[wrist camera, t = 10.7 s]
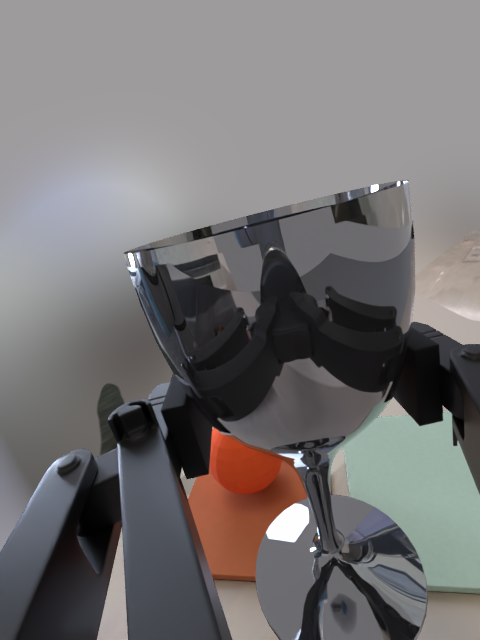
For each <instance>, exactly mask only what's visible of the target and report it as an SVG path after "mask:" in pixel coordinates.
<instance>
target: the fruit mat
mask: <svg viewBox="0 0 480 640" xmlns="http://www.w3.org/2000/svg"><path fill="white" fill-rule="evenodd" d="M330 486H331V484H330ZM304 499H307V495H306V493H305V490H304V488H303V486H302V483H301V481H300V479H299V477H298V475H297V473H296V472H295V470H294V469H293V468H292V467H291V466H290V465H289V464H288V463H286V462H285V461H283V460H282V464H281V467H280V471H279V473H278V475H277V476H276V478H275V479H274V480H273V481H272V483H271V484H270V485H268V486H267V487H266V488H265V489H263V490H261V491H259V492H256V493H254V494H238V493H234V492H231V491H229V490H227V489H225V488H224V487H223V486H222V485H221V484H219V483H218V482H217V481H216V480H215V478H214V476H213V475H212V473H211V471H210V469H209V474H208V475H203V476H199V477H197V478H196V480H195V483H194V485H193V488H192V490H191V493H190V495H189V498H188V502H189V505H190V508H191V511H192V515H193V518H194V521H195V524H196V527H197V530H198V533H199V537H200V540H201V543H202V546H203V549H204V552H205V556H206V559H207V562H208V565H209V568H210V571H211V574H212V578H213V579H226V580H244V581H255V568H256V560H257V555H258V550H259V547H260V544H261V542H262V539H263V537H264V535H265V533H266V531H267V530H268V528H269V526H270V525H271V524H272V523H273V521H274V520H275V519H276V518H277V517H278V516H279V515H280V514H281V513H282V512H283V511H284V510H286V509H287V508H289V507H290V506H292V505H293V504H295V503H297V502H300V501H302V500H304Z"/></svg>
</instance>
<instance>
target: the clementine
mask: <svg viewBox="0 0 480 640" xmlns="http://www.w3.org/2000/svg"><path fill="white" fill-rule="evenodd" d="M281 464H282V459H279V458H276V457H273V456H271V455H268V454H265V453H262V452H259V451H256V450H253V449H250V448H247V447H245V446H243V445H241V444H239V443H237V442H235V441H234V440H232V439H230V438H229V437H227V436H225V435H223V434H222V433H220V432H219V431H218V430H217V429H215V428H213V430H212V439H211V453H210V466H209V469H210V471H211V473H212V475H213V476H214V478H215V480H216V481H217V482H218V483H219V484H221V485H222V486H223V487H224V488H225V489H227V490H229V491H231V492H234V493H238V494H254V493H256V492H259V491H261V490H263V489H265V488H266V487H267V486H268V485H270V484H271V483H272V481H273V480H274V479H275V478H276V476H277V475H278V473H279V471H280V467H281Z"/></svg>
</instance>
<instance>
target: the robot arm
mask: <svg viewBox="0 0 480 640" xmlns="http://www.w3.org/2000/svg"><path fill="white" fill-rule="evenodd" d="M393 397H394V398H395V399H396V400H397V401H398V402H399V404H400V405H401V406H402V407H403V408H404V409H405V410H406V412H407V413H408V414H409V415H410V416H411V417H412V418H413V419H414V421H415V422H416V423H417V424H418V425H419V426H423V425H428V424H432V423H436V422H441V421H443V408H442V405H443V406H444V407H445V408H446V409H448V410H449V411H450V412H451V413H452V430H453V446H457V441H458V442H459V444H460V447H461V449H462V452H463V454H464V457H465V459H466V462H467V464H468V467H469V469H470V472H471V474H472V477H473V479H474V482H475V484H476V487H477V489H478V492H479V494H480V344H468V345H462V344H460V343H458V342H457V341H455V340H453V339H451V338H450V337H448V336H446V335H443V334H442V333H441V332H439V331H436V329H434V328H432V327H430V326H429V325H426V324H422V323H418V322H412V327H411V335H410V340H409V345H408V350H407V355H406V359H405V364H404V368H403V371H402V374H401V376H400V379H399V382H398V385H397V387H396V390H395V393H394V395H393ZM108 423H109V425H110V428H111V430H112V432H113V434H114V436H115V439H116V441H117V443H118V447H117V448H116V449H114V450H112V451H110V452H107V453H105V454H103V455H101V456H98V457H96V458H94V457H93V455H92V453H91V452H90V450H89V449H79V450H75V451H73V452H70V453H67V454H65V455H64V456H62V457H60V458H59V459H58V460H57V461H56V462H54V463H53V464H52V465H51V466H50V468H49V469H48V470H47V471H46V473H45V475H44V477H43V478H42V480H41V482H40V484H39V485H38V487H37V489H36V490H35V492H34V494H33V496H32V497H31V499H30V501H29V503H28V505H27V506H26V508H25V510H24V512H23V513H22V515H21V517H20V519H19V520H18V522H17V524H16V525H15V527H14V529H13V531H12V532H11V534H10V536H9V538H8V539H7V541H6V543H5V545H4V546H3V548H2V550H1V552H0V640H97V636H98V631H99V627H100V622H101V618H102V613H103V609H104V604H105V600H106V595H107V591H108V586H109V582H110V577H111V573H112V568H113V564H114V559H115V555H116V550H117V546H118V541H119V537H120V532H121V528H122V534H123V553H124V571H125V589H126V608H127V626H128V640H232V637H231V634H230V631H229V628H228V625H227V622H226V619H225V615H224V612H223V609H222V606H221V603H220V600H219V597H218V593H217V590H216V587H215V584H214V581H213V578H212V574H211V571H210V568H209V565H208V562H207V559H206V556H205V552H204V549H203V546H202V543H201V540H200V537H199V533H198V530H197V527H196V524H195V521H194V518H193V515H192V511H191V508H190V505H189V502H188V499H187V496H186V493H185V489H184V487H183V484H182V481H181V479H180V474H181V469H182V468H183V471H184V473H185V476H186V478H187V479H190V478H194V477H199V476H203V475H208V474H209V466H210V453H211V439H212V425H211V424H210V423H209V422H208V421H207V420H206V419H205V418H204V416H203V415H202V414H201V413H200V412H199V411H198V409H197V408H196V406H195V405H194V403H193V402H192V401H191V399H190V398H189V396H188V395H187V393H186V392H185V390H184V389H183V387H182V386H181V384H180V383H179V381H178V380H177V378H176V377H175V375H174V373H173V375H172V378H171V381H170V382H168V383H164V384H159V385H158V386H157V387H156V388H155V389H154V390H153V391H152V392H151V393H150V396H149V398H148V400H146V399H138V400H134V401H130V402H128V403H126V404H124V405H122V406H120V407H118V408H117V409H116V410H114V411H113V412H112V414H111V415H110V416H109V418H108Z"/></svg>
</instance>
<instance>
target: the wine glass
mask: <svg viewBox="0 0 480 640" xmlns="http://www.w3.org/2000/svg"><path fill="white" fill-rule="evenodd" d="M414 249H415V247H414V228H413V216H412V204H411V194H410V186H409V181H408V180H403V181H396V182H390V183H385V184H380V185H375V186H370V187H365V188H361V189H356V190H351V191H347V192H343V193H338V194H334V195H330V196H326V197H321V198H317V199H313V200H309V201H305V202H301V203H297V204H293V205H289V206H284V207H281V208H277V209H273V210H269V211H265V212H261V213H257V214H253V215H249V216H246V217H242V218H238V219H234V220H230V221H227V222H223V223H219V224H216V225H212V226H209V227H205V228H201V229H197V230H194V231H190V232H187V233H183V234H180V235H177V236H173V237H169V238H166V239H163V240H160V241H156V242H153V243H150V244H147V245H144V246H140V247H137V248H135V249H132V250H129V251H127V252H125V253H124V258H125V261H126V264H127V268H128V271H129V273H130V276H131V279H132V282H133V285H134V287H135V291H136V293H137V296H138V299H139V301H140V304H141V306H142V309H143V311H144V314H145V316H146V318H147V321H148V323H149V326H150V328H151V330H152V333H153V335H154V338H155V340H156V342H157V344H158V346H159V348H160V350H161V351H162V353H163V355H164V357H165V359H166V361H167V362H168V364H169V366H170V368H171V370H172V371H173V373H174V375H175V377H176V378H177V380H178V381H179V383H180V384H181V386H182V387H183V389H184V390H185V392H186V393H187V395H188V396H189V398H190V399H191V401H192V402H193V403H194V405H195V406H196V408H197V409H198V411H199V412H200V413H201V414H202V415H203V416H204V418H205V419H206V420H207V421H208V422H209V423H210V424H211V425H212V426H213V427H214V428H215V429H217V430H218V431H219V432H220V433H222V434H223V435H225V436H227V437H229V438H230V439H232V440H234V441H235V442H237V443H239V444H241V445H243V446H245V447H247V448H250V449H253V450H256V451H259V452H262V453H265V454H268V455H271V456H273V457H276V458H279V459H282V460H283V461H285V462H286V463H288V464H289V465H290V466H291V467H292V468H293V469H294V470H295V472H296V473H297V475H298V477H299V479H300V481H301V483H302V486H303V488H304V490H305V493H306V495H307V499H304V500H302V501H300V502H297V503H295V504H293V505H292V506H290V507H289V508H287V509H286V510H284V511H283V512H282V513H281V514H280V515H279V516H278V517H277V518H276V519H275V520H274V521H273V523H272V524H271V525H270V526H269V528H268V530H267V531H266V533H265V535H264V537H263V539H262V542H261V544H260V547H259V550H258V555H257V560H256V568H255V581H256V589H257V595H258V599H259V602H260V605H261V609H262V611H263V613H264V615H265V617H266V620H267V622H268V624H269V626H270V627H271V628H272V630H273V631H274V633H275V634H276V636H277V637H278V638H279V640H416V639H417V637H418V636H419V634H420V632H421V629H422V626H423V623H424V620H425V617H426V610H427V602H428V593H427V581H426V577H425V573H424V569H423V565H422V563H421V560H420V558H419V556H418V553H417V551H416V549H415V547H414V546H413V544H412V543H411V541H410V539H409V538H408V536H407V535H406V534H405V533H404V532H403V530H402V529H401V528H400V527H399V526H398V525H397V524H396V523H395V522H394V521H393V520H392V519H391V518H390V517H389V516H387V515H386V514H385V513H383V512H382V511H380V510H379V509H377V508H376V507H374V506H372V505H370V504H368V503H366V502H364V501H361V500H358V499H355V498H352V497H347V496H341V495H331V486H330V473H331V465H332V462H333V459H334V457H335V455H336V453H337V452H338V451H339V450H340V449H341V448H342V447H344V446H345V445H346V444H347V443H349V442H350V441H351V440H352V439H354V438H355V437H356V436H357V435H359V434H360V433H361V432H362V431H364V430H365V429H366V428H367V427H368V426H369V425H370V424H372V423H373V422H374V421H375V419H376V418H377V417H378V416H379V414H380V413H381V412H382V411H383V410H384V408H385V407H386V406H387V404H388V403H389V402H390V400H391V399H392V397H393V395H394V393H395V390H396V387H397V385H398V382H399V379H400V376H401V374H402V371H403V368H404V364H405V359H406V355H407V350H408V345H409V340H410V335H411V327H412V316H413V307H414V296H415V250H414Z"/></svg>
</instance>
